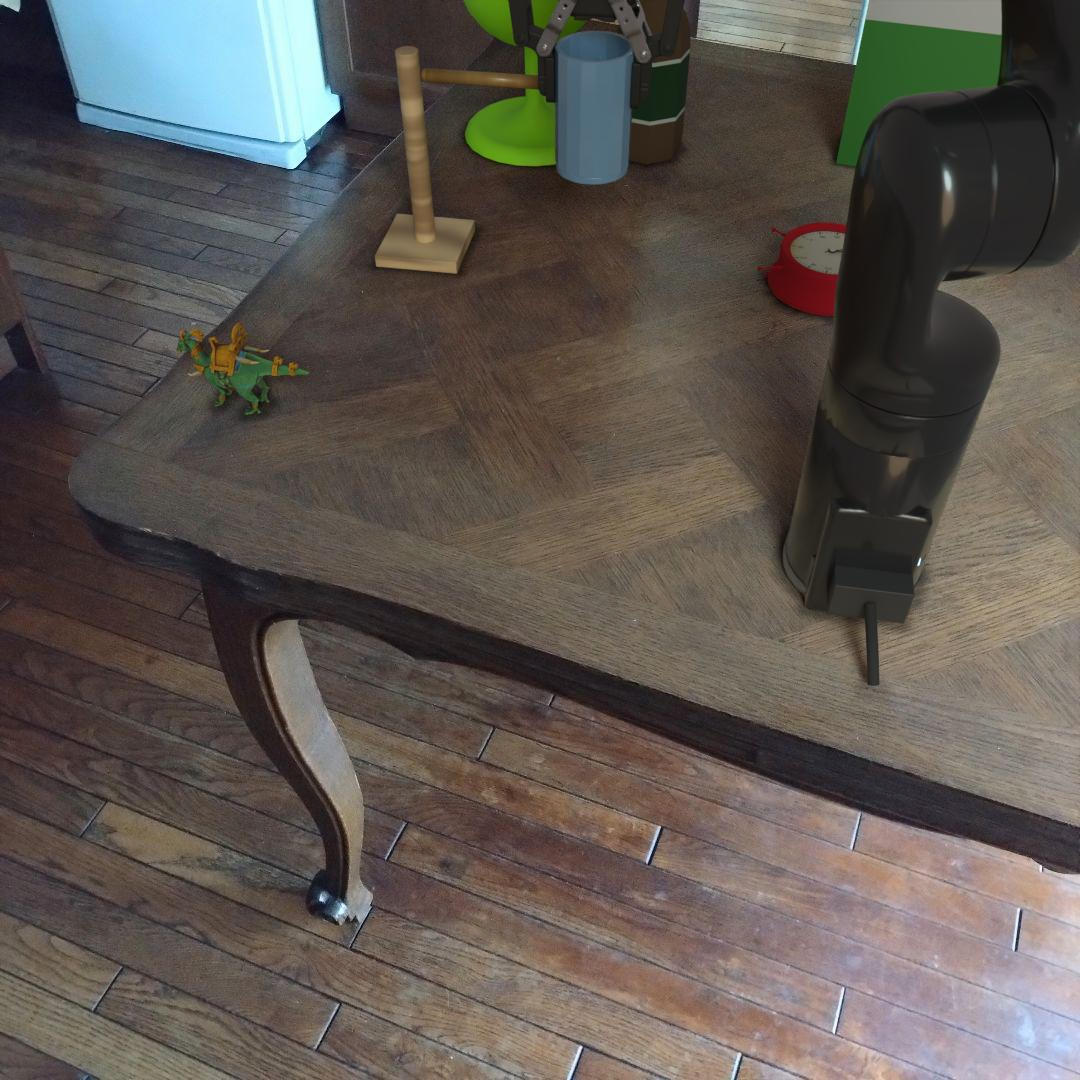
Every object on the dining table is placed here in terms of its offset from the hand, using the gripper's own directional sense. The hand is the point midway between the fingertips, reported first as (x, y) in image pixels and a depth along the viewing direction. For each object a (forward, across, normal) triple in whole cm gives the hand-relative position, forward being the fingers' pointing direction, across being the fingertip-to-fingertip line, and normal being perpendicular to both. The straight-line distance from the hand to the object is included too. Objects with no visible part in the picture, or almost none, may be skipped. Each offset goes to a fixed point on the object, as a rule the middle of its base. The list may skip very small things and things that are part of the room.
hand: (594, 101), depth 86 cm
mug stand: (+18, -12, +5) cm, 22 cm away
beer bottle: (+18, +2, +29) cm, 34 cm away
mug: (+6, 0, +2) cm, 6 cm away
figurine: (+18, -25, -22) cm, 37 cm away
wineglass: (+18, -11, +30) cm, 37 cm away
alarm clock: (+18, +23, +4) cm, 29 cm away
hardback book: (+18, +32, +31) cm, 48 cm away
